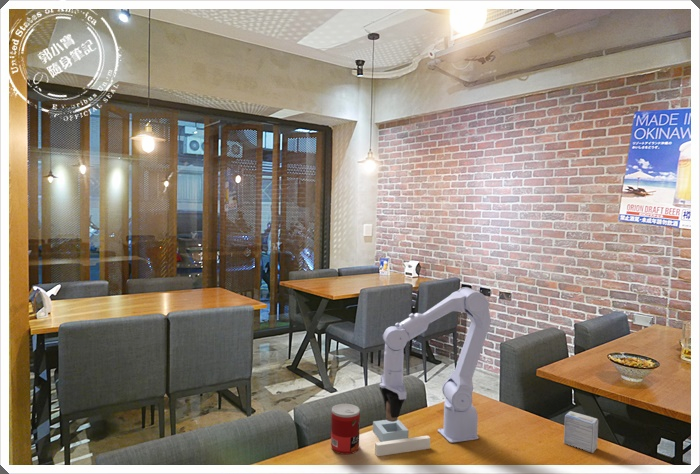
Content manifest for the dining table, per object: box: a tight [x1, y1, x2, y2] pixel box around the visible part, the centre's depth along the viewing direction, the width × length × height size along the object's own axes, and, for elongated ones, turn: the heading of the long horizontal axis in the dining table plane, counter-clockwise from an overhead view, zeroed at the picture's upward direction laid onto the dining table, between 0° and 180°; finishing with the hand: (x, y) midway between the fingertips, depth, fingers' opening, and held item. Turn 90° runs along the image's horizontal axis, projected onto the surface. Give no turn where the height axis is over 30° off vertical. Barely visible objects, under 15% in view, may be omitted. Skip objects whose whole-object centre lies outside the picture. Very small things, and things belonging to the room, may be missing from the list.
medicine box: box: [563, 410, 599, 454], centre depth 131 cm, size 8×4×9 cm, turn 47°
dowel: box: [385, 400, 399, 422], centre depth 133 cm, size 3×3×5 cm
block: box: [372, 419, 410, 442], centre depth 134 cm, size 8×8×3 cm
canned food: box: [330, 403, 361, 455], centre depth 126 cm, size 8×8×11 cm
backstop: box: [374, 434, 431, 457], centre depth 126 cm, size 16×2×3 cm, turn 108°
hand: (392, 414), depth 133 cm, fingers closed on dowel, 3 cm apart
